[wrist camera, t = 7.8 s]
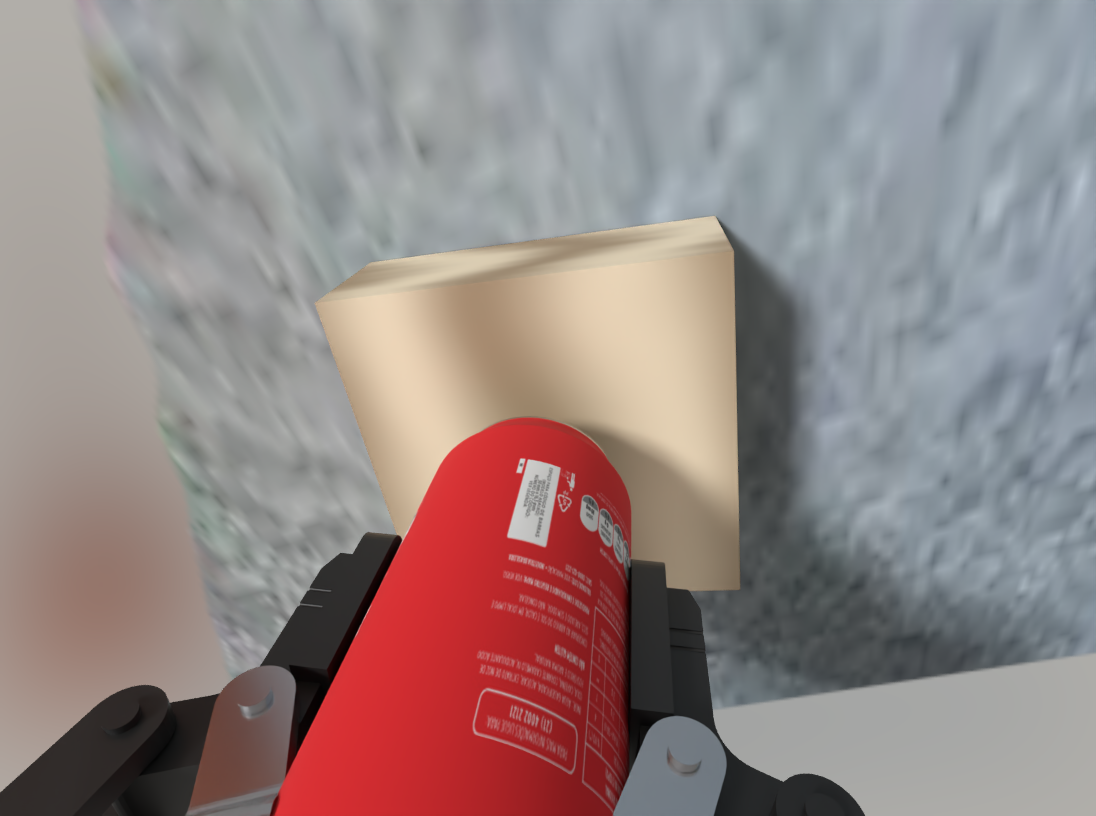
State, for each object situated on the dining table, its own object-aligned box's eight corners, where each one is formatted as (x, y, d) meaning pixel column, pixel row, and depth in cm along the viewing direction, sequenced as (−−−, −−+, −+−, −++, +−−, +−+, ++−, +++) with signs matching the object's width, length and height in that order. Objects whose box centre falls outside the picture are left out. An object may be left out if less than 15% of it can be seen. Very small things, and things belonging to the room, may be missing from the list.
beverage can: (642, 551, 17) (654, 1283, 7) (470, 562, 18) (253, 1210, 8) (616, 390, 15) (573, 1137, 4) (420, 414, 16) (16, 1062, 6)
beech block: (715, 215, 18) (733, 250, 14) (724, 511, 23) (740, 590, 20) (370, 262, 20) (314, 302, 16) (449, 524, 25) (419, 597, 22)
